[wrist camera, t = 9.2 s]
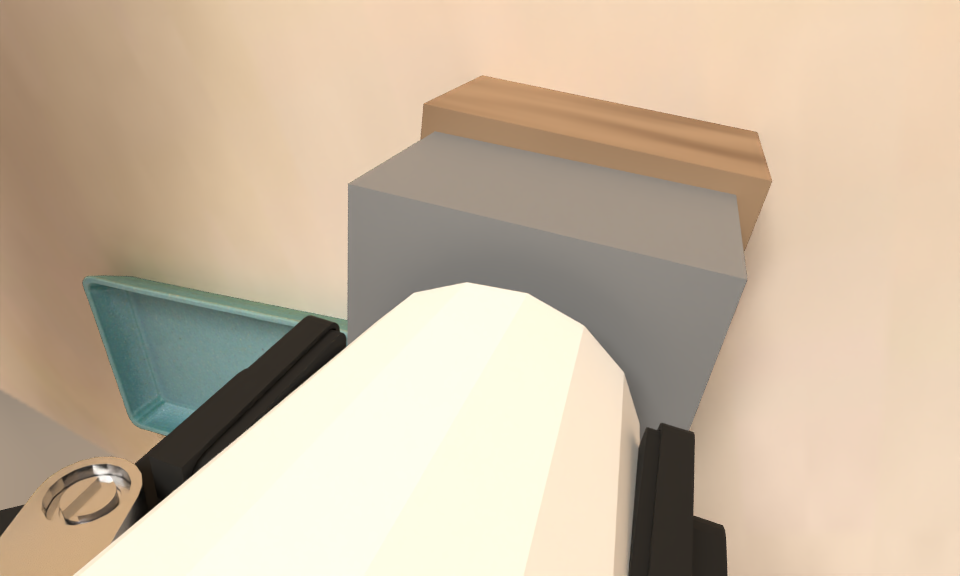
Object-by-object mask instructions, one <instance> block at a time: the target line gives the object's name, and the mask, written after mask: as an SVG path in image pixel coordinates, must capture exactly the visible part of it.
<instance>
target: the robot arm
mask: <svg viewBox="0 0 960 576" xmlns="http://www.w3.org/2000/svg"><path fill="white" fill-rule="evenodd" d="M345 348H346V335H345V334H344V333H342V332H340V327H339V325H338V324H337V323H335V322H332V321H329V320H325V319H322V318H319V317H316V316H312V315H308V316H306V317H305V318H303V319H302V320H301V321H300V322H299V323H298V324H297V325H296V326H294V327H293V328H292V329H291V330H290V331H289V332H288V333H287V334H285V335H284V336H283V337H282V338H281V339H280V340H279V341H277V342H276V343H275V344H274V345H273V346H272V347H271V348H270V349H268V350H267V351H266V352H265V353H264V354H263V355H262V356H261V357H259V358H258V359H257V360H256V361H255V362H254V363H253V364H252V365H250V366H249V367H248V368H246V369H244V370H242V371H241V372H239V373H238V374H236V375H235V376H234V377H233V378H232V379H231V380H230V381H228V382H227V383H226V384H225V385H224V386H223V387H222V388H221V389H219V390H218V391H217V392H216V393H215V394H214V395H213V396H211V397H210V398H209V399H208V400H207V401H206V402H205V403H203V404H202V405H201V406H200V407H199V408H198V409H197V410H196V411H194V412H193V413H192V414H191V415H190V416H189V417H188V418H186V419H185V420H184V421H183V422H182V423H181V424H180V425H178V426H177V427H176V428H175V429H174V430H173V431H172V432H170V433H169V434H168V435H167V436H166V437H165V438H164V439H163V440H161V441H160V442H159V443H158V444H157V445H156V446H155V447H153V448H152V449H151V450H150V451H149V452H148V453H147V454H145V455H144V456H143V457H142V458H141V459H140V460H139V461H138V462H136V463H135V464H133V463H131V462H129V461H128V460H126V459H122V458H117V457H95V458H90V459H86V460H82V461H78V462H76V463H74V464H71V465H69V466H67V467H65V468H62V469H61V470H59V471H58V472H56V473H55V474H53V475H52V476H50V477H49V478H47V479H46V480H45V482H43V483H42V485H41V486H40V487H39V488H38V489H37V490H36V491H35V492H34V493H33V495H32V496H31V498H30V499H29V500H28V501H27V503H26V504H25V505H21V506H17V507H13V508H9V509H5V510H1V511H0V576H73V575H74V574H75V573H76V572H78V571H79V570H80V569H81V568H82V567H84V566H85V565H86V564H87V563H88V562H90V561H91V560H92V559H93V558H94V557H96V556H97V555H98V554H99V553H100V552H102V551H103V550H104V549H105V548H106V547H108V546H109V545H110V544H111V543H112V542H114V541H115V540H116V539H117V538H118V537H120V536H121V535H122V534H123V533H124V532H126V531H127V530H128V529H129V528H130V527H132V526H133V525H134V524H135V523H136V522H137V521H139V520H140V519H141V518H142V517H143V516H145V515H146V514H147V513H148V512H149V511H151V510H152V509H153V508H154V507H155V506H157V505H158V504H159V503H160V502H161V501H163V500H164V499H165V498H166V497H167V496H169V495H170V494H171V493H172V492H173V491H175V490H176V489H177V488H178V487H179V486H181V485H182V484H183V483H184V482H185V481H187V480H188V479H189V478H190V477H191V476H193V475H194V474H195V473H196V472H197V471H199V470H200V469H201V468H202V467H203V466H205V465H206V464H207V463H208V462H209V461H211V460H212V459H213V458H214V457H216V456H217V455H218V454H219V453H220V452H222V451H223V450H224V449H225V448H226V447H228V446H229V445H230V444H231V443H232V442H234V441H235V440H236V439H237V438H238V437H239V436H241V435H242V434H243V433H244V432H245V431H247V430H248V429H249V428H250V427H251V426H253V425H254V424H255V423H256V422H257V421H258V420H260V419H261V418H262V417H263V416H264V415H266V414H267V413H268V412H269V411H270V410H272V409H273V408H274V407H275V406H276V405H278V404H279V403H280V402H281V401H282V400H284V399H285V398H286V397H287V396H288V395H289V394H291V393H292V392H293V391H294V390H295V389H297V388H298V387H299V386H300V385H301V384H303V383H304V382H305V381H306V380H307V379H309V378H310V377H311V376H312V375H313V374H315V373H316V372H317V371H318V370H319V369H321V368H322V367H323V366H324V365H325V364H327V363H328V362H329V361H330V360H331V359H333V358H334V357H335V356H336V355H337V354H339V353H340V352H341V351H342V350H343V349H345ZM694 450H695V435H694V432H691V431H688V430H684V429H681V428H678V427H675V426H671V425H668V424H665V423H660V425H659V427H658V429H657V430H655V429H652V428H649V427H646V429H645V431H644V434H643V437H642V439H641V442H640V445H639V448H638V461H637V473H636V485H635V498H634V510H633V523H632V535H631V548H630V560H629V573H628V576H727V550H726V534H725V529H724V527H723V525H720V524H717V523H714V522H711V521H708V520H705V519H702V518H699V517H696V516H693V502H694Z"/></svg>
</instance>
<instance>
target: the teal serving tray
mask: <svg viewBox="0 0 960 576" xmlns="http://www.w3.org/2000/svg"><path fill="white" fill-rule="evenodd" d="M83 287H84V290H85V293H86V296H87V298H88V301H89V304H90V307H91V309H92V312H93V315H94V318H95V321H96V324H97V326H98V329H99V332H100V335H101V338H102V341H103V344H104V347H105V349H106V352H107V356H108V359H109V362H110V365H111V368H112V370H113V373H114V376H115V379H116V381H117V384H118V387H119V391H120V394H121V396H122V399H123V402H124V405H125V408H126V411H127V414H128V416H129V418H130V420H131V421H132V423H133V424H134V425H136V426H137V427H139V428H141V429H144V430H148V431H151V432H155V433H158V434H162V435H165V436H167V435H168V434H169V433H170V432H172V431H173V430H174V429H175V428H176V427H177V426H178V425H180V424H181V423H182V422H183V421H184V420H185V419H186V418H188V417H189V416H190V415H191V414H192V413H193V412H194V411H196V410H197V409H198V408H199V407H200V406H201V405H202V404H203V403H205V402H206V401H207V400H208V399H209V398H210V397H211V396H213V395H214V394H215V393H216V392H217V391H218V390H219V389H221V388H222V387H223V386H224V385H225V384H226V383H227V382H228V381H230V380H231V379H232V378H233V377H234V376H235V375H236V374H238V373H239V372H241V371H242V370H244V369H246V368H248V367H249V366H250V365H252V364H253V363H254V362H255V361H256V360H257V359H258V358H259V357H261V356H262V355H263V354H264V353H265V352H266V351H267V350H268V349H270V348H271V347H272V346H273V345H274V344H275V343H276V342H277V341H279V340H280V339H281V338H282V337H283V336H284V335H285V334H287V333H288V332H289V331H290V330H291V329H292V328H293V327H294V326H296V325H297V324H298V323H299V322H300V321H301V320H302V319H303V318H305V317H306V316H308V315H312V316H316V317H319V318H322V319H325V320H329V321H332V322H335V323H337V324H338V325H339V327H340V332H342V333H344V334H345V335H346V347H347V329H348V320H344V319H339V318H334V317H329V316H324V315H319V314H314V313H309V312H304V311H299V310H294V309H289V308H284V307H279V306H274V305H269V304H264V303H259V302H254V301H249V300H244V299H239V298H234V297H229V296H224V295H219V294H214V293H209V292H204V291H199V290H194V289H190V288H185V287H180V286H175V285H170V284H165V283H160V282H155V281H150V280H146V279H141V278H137V277H130V276H87V277H85V278H84V280H83Z"/></svg>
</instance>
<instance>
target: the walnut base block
mask: <svg viewBox="0 0 960 576" xmlns="http://www.w3.org/2000/svg"><path fill="white" fill-rule="evenodd" d="M435 131H436V132H441V133H445V134H450V135H455V136H460V137H464V138H469V139H474V140H479V141H483V142H488V143H493V144H497V145H502V146H507V147H512V148H516V149H521V150H526V151H531V152H535V153H540V154H545V155H550V156H554V157H559V158H564V159H569V160H573V161H578V162H583V163H587V164H592V165H597V166H602V167H606V168H611V169H616V170H621V171H625V172H630V173H635V174H640V175H644V176H649V177H654V178H659V179H663V180H668V181H673V182H677V183H682V184H687V185H692V186H696V187H701V188H706V189H711V190H715V191H720V192H725V193H730V194H734V195H736V197H737V205H738V212H739V220H740V228H741V235H742V243H743V250H744V251H745V248H746V246H747V243H748V241H749V238H750V236H751V233H752V231H753V228H754V226H755V223H756V221H757V218H758V216H759V213H760V211H761V208H762V206H763V203H764V201H765V198H766V196H767V193H768V190H769V188H770V185H771V183H772V179H771V176H770V172H769V169H768V166H767V163H766V159H765V156H764V153H763V149H762V146H761V143H760V140H759V136H758V133H757V132H754V131H749V130H744V129H739V128H735V127H730V126H725V125H720V124H715V123H710V122H705V121H701V120H696V119H691V118H686V117H681V116H676V115H672V114H667V113H662V112H657V111H652V110H647V109H642V108H638V107H633V106H628V105H623V104H618V103H613V102H609V101H604V100H599V99H594V98H589V97H584V96H580V95H575V94H570V93H565V92H560V91H555V90H550V89H546V88H541V87H536V86H531V85H526V84H521V83H517V82H512V81H507V80H502V79H497V78H492V77H488V76H483V75H482V76H480V77H478V78H476V79H474V80H472V81H470V82H468V83H466V84H464V85H462V86H459V87H457V88H455V89H453V90H451V91H449V92H447V93H445V94H443V95H441V96H439V97H437V98H435V99H432V100H430V101H428V102H426V103H424V105H423V117H422V129H421V140H422V139H423V138H425V137H426V136H428V135H430V134H431V133H433V132H435Z"/></svg>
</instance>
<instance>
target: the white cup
mask: <svg viewBox="0 0 960 576" xmlns="http://www.w3.org/2000/svg"><path fill="white" fill-rule="evenodd" d="M639 445H640V423H639V420H638V417H637V413H636V410H635V407H634V404H633V400H632V397H631V394H630V390H629V387H628V384H627V381H626V377H625V374H624V372H623V371H622V370H621V368H620V367H619V366H618V365H617V364H616V363H615V361H614V360H613V359H612V358H611V357H610V355H609V354H608V353H607V352H606V351H605V350H604V348H603V347H602V346H601V345H600V344H599V342H598V341H597V340H596V339H595V338H594V337H593V335H592V334H591V333H590V332H589V331H588V330H587V328H586V327H585V326H584V325H582V324H580V323H579V322H577V321H575V320H573V319H572V318H570V317H568V316H566V315H565V314H563V313H561V312H559V311H558V310H556V309H554V308H552V307H551V306H549V305H547V304H545V303H544V302H542V301H540V300H538V299H537V298H535V297H533V296H531V295H530V294H528V293H523V292H518V291H512V290H507V289H501V288H496V287H490V286H485V285H479V284H474V283H469V282H465V283H460V284H455V285H450V286H445V287H440V288H435V289H430V290H426V291H421V292H416V293H413V294H412V295H410V296H409V297H408V298H407V299H405V300H404V301H403V302H401V303H400V304H399V305H398V306H396V307H395V308H394V309H392V310H391V311H390V312H388V313H387V314H386V315H385V316H383V317H382V318H381V319H379V320H378V321H377V322H376V323H374V324H373V325H372V326H371V327H370V328H368V329H367V330H366V331H365V332H364V333H362V334H361V335H360V336H359V337H358V338H357V339H355V340H354V341H353V342H352V343H351V344H349V345H348V346H347V347H346V348H345V349H343V350H342V351H341V352H340V353H339V354H337V355H336V356H335V357H334V358H333V359H331V360H330V361H329V362H328V363H327V364H325V365H324V366H323V367H322V368H321V369H319V370H318V371H317V372H316V373H315V374H313V375H312V376H311V377H310V378H309V379H307V380H306V381H305V382H304V383H303V384H301V385H300V386H299V387H298V388H297V389H295V390H294V391H293V392H292V393H291V394H289V395H288V396H287V397H286V398H285V399H284V400H282V401H281V402H280V403H279V404H278V405H276V406H275V407H274V408H273V409H272V410H270V411H269V412H268V413H267V414H266V415H264V416H263V417H262V418H261V419H260V420H258V421H257V422H256V423H255V424H254V425H253V426H251V427H250V428H249V429H248V430H247V431H245V432H244V433H243V434H242V435H241V436H239V437H238V438H237V439H236V440H235V441H234V442H232V443H231V444H230V445H229V446H228V447H226V448H225V449H224V450H223V451H222V452H220V453H219V454H218V455H217V456H216V457H214V458H213V459H212V460H211V461H209V462H208V463H207V464H206V465H205V466H203V467H202V468H201V469H200V470H199V471H197V472H196V473H195V474H194V475H193V476H191V477H190V478H189V479H188V480H187V481H185V482H184V483H183V484H182V485H181V486H179V487H178V488H177V489H176V490H175V491H173V492H172V493H171V494H170V495H169V496H167V497H166V498H165V499H164V500H163V501H161V502H160V503H159V504H158V505H157V506H155V507H154V508H153V509H152V510H151V511H149V512H148V513H147V514H146V515H145V516H143V517H142V518H141V519H140V520H139V521H137V522H136V523H135V524H134V525H133V526H132V527H130V528H129V529H128V530H127V531H126V532H124V533H123V534H122V535H121V536H120V537H118V538H117V539H116V540H115V541H114V542H112V543H111V544H110V545H109V546H108V547H106V548H105V549H104V550H103V551H102V552H100V553H99V554H98V555H97V556H96V557H94V558H93V559H92V560H91V561H90V562H88V563H87V564H86V565H85V566H84V567H82V568H81V569H80V570H79V571H78V572H76V573H75V574H74V575H73V576H628V573H629V560H630V548H631V535H632V523H633V510H634V498H635V485H636V473H637V461H638V448H639Z"/></svg>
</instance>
